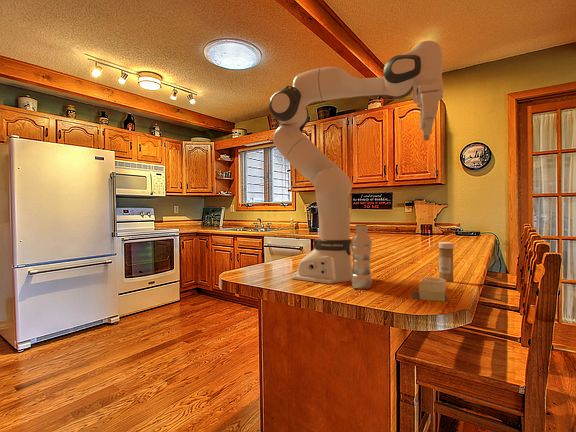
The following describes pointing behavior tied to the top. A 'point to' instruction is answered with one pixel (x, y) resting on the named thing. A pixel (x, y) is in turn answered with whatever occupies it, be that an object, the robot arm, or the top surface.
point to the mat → (416, 296)
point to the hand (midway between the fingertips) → (427, 137)
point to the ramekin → (434, 281)
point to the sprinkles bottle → (446, 261)
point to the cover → (431, 292)
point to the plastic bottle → (361, 258)
